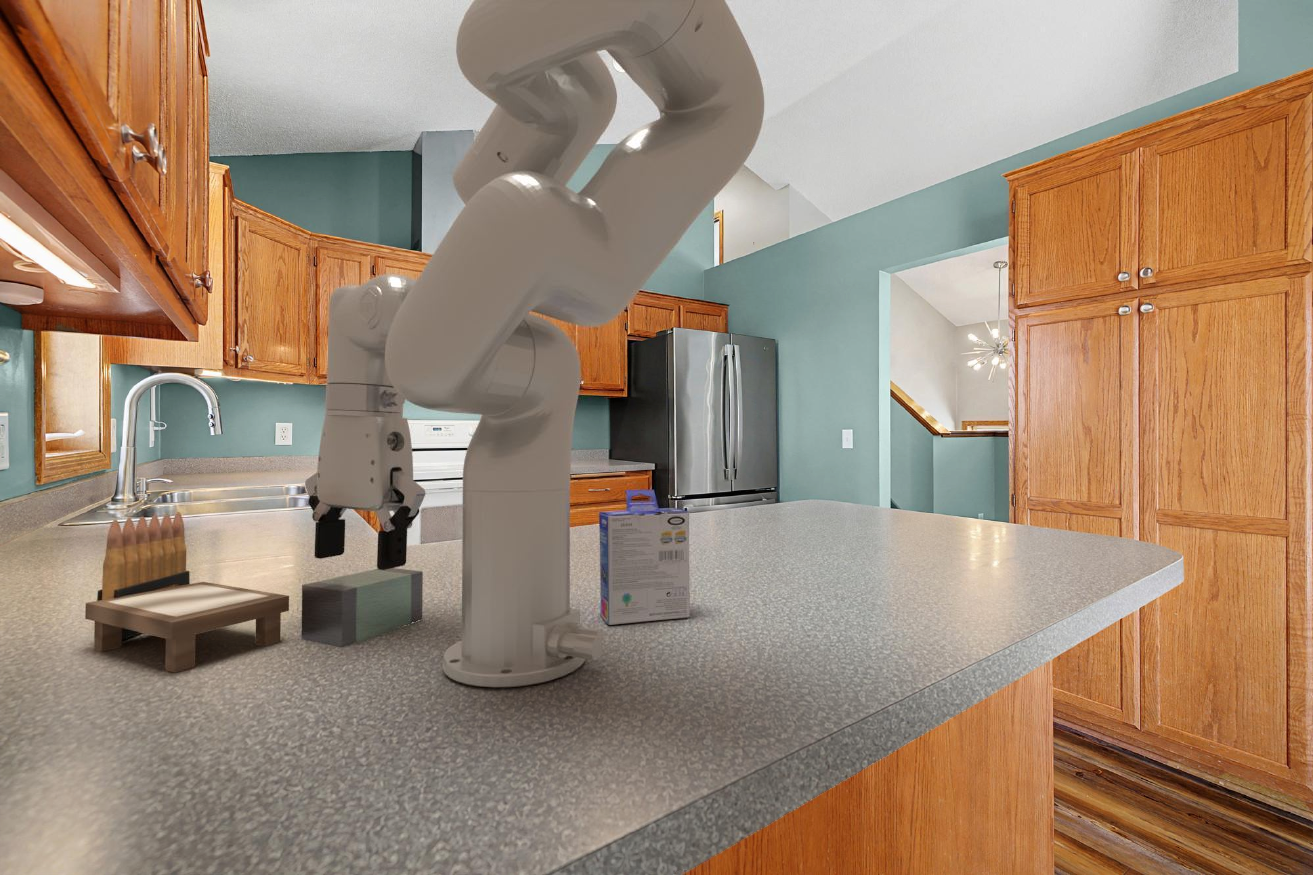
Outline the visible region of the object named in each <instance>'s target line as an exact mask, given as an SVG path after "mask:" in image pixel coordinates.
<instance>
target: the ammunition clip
mask: <svg viewBox="0 0 1313 875" xmlns="http://www.w3.org/2000/svg"><path fill="white" fill-rule="evenodd" d="M161 520H162V521H161V523H160V520H159V517H158V516H157V514H154V515H152V517H151V519H150V521H149V524H148V522H147V520H146V518H145V517H144V516H143V515H141V516H140V518H139V519H138V521H137V524H136V527H135V524H134V521H133V519H132V518H131V517H128V518H127V519H126V520H125V523H124V525H123V528H121V525H120V523H119V521H118V519H114V520H113V521H112V522H111V523H110V526H109V529H108V533H107V539H106V548H105V557H104V560H103V564H102V580H101V581H102V583H101V584H102V586H101V588H102V589H100V590H97V599H96V601H100V600H105V599H111V598H119V597H122V596H127V595H133V594H138V593H144V592H149V591H155V590H160V589H166V588H171V587H177V586H182V585H188V584H191V583H190V580H191V579H190V578H191V577H190V571H189V570H187V546H186V538H185V525H184V524H185V523H184V518H183V516H182V514H181V512H180V511H177V512H176V514H175V516H174V518H173V520H172V519H171V516H170V514H169V513H167V512H166V513H165V514H164V515H163V517H162V519H161ZM139 634H142V633H141V632H137V631H133V630H129V629H125V628H122V641H123V640H126V639H128V638H130V637H134V636H136V635H139Z"/></svg>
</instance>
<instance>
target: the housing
mask: <svg viewBox="0 0 1313 875" xmlns="http://www.w3.org/2000/svg"><path fill="white" fill-rule="evenodd" d="M423 572H424V571H420V570H412V569H403V568H398V567H395V568H391V569H386V570H380V569H378V568H374V569H371V570H365V571H361V572H360V571H359V572H356V573H352V574H346V575H342V576H338V577H337V576H336V577H333V578H327V579H323V580H319V581H315V582H310V583H306V584H302V585H301V640H303V639H304V641H309V642H313V643H318V644H322V645H327V646H333V647H337V648H344V647H347V646H350V645H353V644H357V643H358V642H362V641H365V640H368V639H371V638H374V637H377V636H380V635H382V634H385V633H389V632H392V631H394V629H395V630H397V629H400V628H399V627H401V628H404V627H405V626H404V625H407V626H409V625H408V624H410V625H412V624H411V623H412V622H416V621H418V620H421V619H422V620H423V597H424V596H423V591H424V590H423V584H424V583H423V580H424V578H423V576H424V574H423ZM416 623H417V622H416ZM403 626H404V627H403ZM388 631H389V632H388Z"/></svg>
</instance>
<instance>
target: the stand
mask: <svg viewBox="0 0 1313 875" xmlns="http://www.w3.org/2000/svg"><path fill="white" fill-rule="evenodd" d="M289 611H290V595H286V594H281V593H280V594H279V593H275V592H274V593H273V592H268V591H262V590H255V589H249V588H244V587H238V586H237V587H236V586H231V585H226V584H219V583H213V582H207V581H201V582H200V581H199V582H194V583H190V584H188V585H182V586H177V587H171V588H166V589H160V590H155V591H149V592H144V593H138V594H133V595H127V596H122V597H119V598H111V599H105V600H100V601H97V600H96V601H90V602H85V615H84V618H85V620H89V621H93V622H94V627H93V628H94V632H93V633H94V635H93V636H94V637H93V638H94V639H93V649H94V651H98V652H106V651H110V650H114V649H119V648H122V645H123V644H122V642H123V640H122V628H125V629H129V630H133V631H137V632H141V633H140V634H146V635H150V636H154V637H158V638H161V639H165V671H168V672H170V673H174V674H175V673H179V672H182V671H186V670H189V669H192V668H195V667H196V635H198V634H201V633H202V634H203V633H206V632H210V631H214V630H218V629H222V628H226V627H229V626H230V627H231V626H234V625H238V624H242V623H246V622H249V621H255V645H258V646H262V647H267V646H271V645H273V644H277V643H280V642H281V630H282V629H281V626H282V624H281V623H282V622H281V619H282V613H285V612H289Z"/></svg>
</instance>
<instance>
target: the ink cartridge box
mask: <svg viewBox="0 0 1313 875" xmlns="http://www.w3.org/2000/svg"><path fill="white" fill-rule="evenodd" d="M624 492H625V503H626V509H625V510H609V511H599V512H598V521H599V522H598V523H599V569H600V570H599V571H600V573H599V574H600V576H599V577H600V579H599V580H600V583H599V584H600V590H599V592H600V594H599V595H600V598H599V599H600V606H599V607H600V608H599V609H600V612H599V614H600V616H601V618H602V620H604V622H605V623H606V625H608V626H609V625H610V626H613V625H614V626H615V625H622V624H632V623H634V624H635V623H644V622H651V621H664V620H675V619H685V618H689V617H690V616H691V610H690V609H691V604H690V603H691V597H690V596H691V592H690V591H691V590H690V589H691V588H690V512H689V511H688V510H684V509H680V508H677V507H667V508H659V505H658V501H657V497H656V494H655V489H626V490H625V491H624ZM638 496H645V497H649V498H650V500H648V501H647V500H642V501H641V500H640V501H633V500H632V498H634V497H638Z"/></svg>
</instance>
